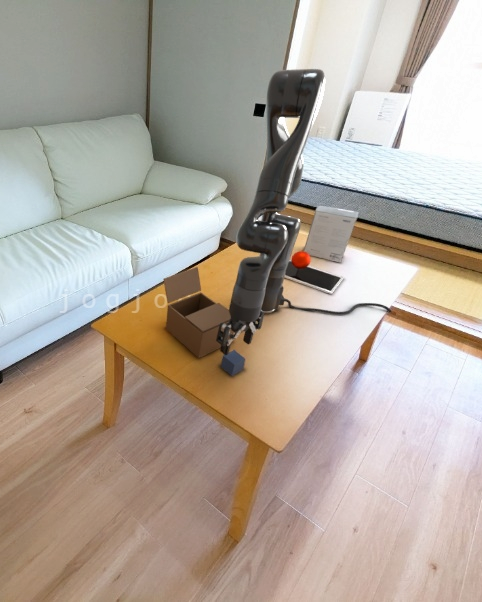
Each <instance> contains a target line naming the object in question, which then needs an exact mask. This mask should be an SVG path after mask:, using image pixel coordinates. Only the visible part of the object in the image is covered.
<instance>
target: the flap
mask: <svg viewBox="0 0 482 602" xmlns="http://www.w3.org/2000/svg"><path fill="white" fill-rule="evenodd" d="M162 280H163V286H164V291H165V297H166V302H167V304H171V303H174V302H176V301H179V300H182V299H184V298H187V297H189V296H192V295H195V294H197V293H200V292H201V291H202V287H201V285H202V284H201V278H200V272H199V267H198V266H196V267H193V268H191V269H187V270H185V271H182V272H178V273H175V274H173V275H171V276H167V277H165V278H163V279H162Z"/></svg>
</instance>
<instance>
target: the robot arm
mask: <svg viewBox="0 0 482 602" xmlns="http://www.w3.org/2000/svg"><path fill="white" fill-rule="evenodd" d="M325 84H326V76H325V72H324V70H322V69H320V68H300V69H299V68H298V69H297V68H296V69H282V70H277V71H275V72H273V74H272V75H271V77H270V79H269V82H268V86H267V92H266V154H265V164H264V166H263V168H262V170H261V172H260V175H259V178H258V183H257V185H256V189H255V195H254V198H253V201H252V204H251V206H250V208H249V210H248V212H247V214H246V216H245V218H244V219H243V220H242V223H241V225H240V226H239V228H238V231H237V233H236V237H235V242H236V245H237V247H238V248H239V249H240V250H241V251H244V252H250V253H256V254H259V255H258V256H248V257H244V258H243V259H241V261H240V263H239V265H238V269H237V274H236V279H235V283H234V285H233V288H232V293H231V298H230V303H229V308H228V309H229V313H230V316H231V318H230V320H229V322H228V323H227V324H224V323H223V322H222V323H220V326H219V330H218V334H217V338H216V341H217V342H218V343H219V344H221V348H219V351H220V352H221V354H223V355H228V353H229V352H230V349H231V344H232V343H233V341H234V340H237V339H238V337H239V336H240V334H243V333H244V334H243V338H242V340H243V342H244V343H245V344H246V345H250V344H252V340H253V338H254V334H256V332H257V330H258V331H259V330H260V329H262V325H263V321H264V316H265V315H266V314H267V315H268V314H272V313H274V312H278V310H279V307H280V306H284V305H285V302H286V303H287V305H288V307H289V308H291V309H294V310H299V311H305V312H320V313H324V314H330V315H347V314H350V313H351V312H353V311H354V310H355V309H356V308H358V307H367V306H368V307H369V306H371V307H379V308H382V309H385V310H386V311H387V312H388V313H393V311H392V309H391V308H389V307H388V306H386V305H385V304H381V303H376V302H361V303H356V304H354V305H353V306H352V307H351V308H350V309H348V310H344V311H335V310H334V311H333V310H327V309H321V308H316V307H315V308H314V307H311V308H310V307H297V306H295V305H292V302H291V300H289V299H287V298H285V296H284V295H283V293H284V290H285V288H284V286H283V284H284V280H285V278H284V277H285V274H286V270H287V267H288V264H289V260H291V258H292V255H293V250H294V248H295V244H296V242H297V239H298V236H299V233H300V231H301V219H299V218H298V217H293V216H289V215H286V214H281V213H283V212H284V211H285V210H286V208H287V206H288V203H289V199H291V197H292V196H293V195H295V193H296V192H297V191H298V190H299V188H300V186H301V184H302V178H303V172H304V164H305V163H304V158H303V153H304V150H305V148H306V145H307V142H308V141H309V137H310V134H311V133H312V129H313V127H314V123H315V121H316V117H317V115H318V113H319V109H320V107H321V104H322V100H323V96H324V91H325ZM285 119H298V120H297V124H296V125H295V127H294V129H293V130H292V132H291V133H289V132H288V129H287V126H286V121H285ZM260 217H261V219H260V220H259V218H260ZM230 329H231V330H232V331H233V332H234V335H233V334H232V333H230ZM228 335H229V336H230V338H229V340H227V338H228ZM221 337H222V338H221Z"/></svg>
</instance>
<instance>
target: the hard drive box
mask: <svg viewBox="0 0 482 602" xmlns="http://www.w3.org/2000/svg"><path fill="white" fill-rule="evenodd" d="M358 216H359V211H354V210H349V209H342V208H338V207H330V206H324V205H317V207H316V208H315V210H314V214H313V217H312V220H311V224H310V227H309V230H308V234H307V238H306V241H305V245H304V248H303V251H305V252H307V253H308V254H309V255H310V257H316V258H320V259H324V260H327V261H331V262H337V263H341V262H342V261H343V258H344V255H345V252H346V249H347V247H348V245H349V244H348V243H349V241H350V239H351V236H352V233H353V230H354V228H355V225H356V222H357V220H358Z"/></svg>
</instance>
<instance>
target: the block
mask: <svg viewBox="0 0 482 602" xmlns="http://www.w3.org/2000/svg"><path fill="white" fill-rule="evenodd" d="M245 364H246V357H244V356H243V355H242V354H240V352H238V351H237V350H235V349H233V350H231V351H229V353H228V355H224V354H223V355H222V359H221V363H220V368H221V369H223V370H224V371H225V372H226V373H228V374H229V375H230V376H231V377H233V376H235V375H237V374H238V373H240V372H242V371H244V366H245Z"/></svg>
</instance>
